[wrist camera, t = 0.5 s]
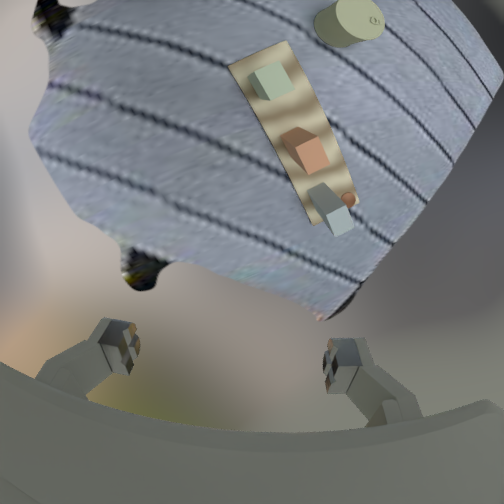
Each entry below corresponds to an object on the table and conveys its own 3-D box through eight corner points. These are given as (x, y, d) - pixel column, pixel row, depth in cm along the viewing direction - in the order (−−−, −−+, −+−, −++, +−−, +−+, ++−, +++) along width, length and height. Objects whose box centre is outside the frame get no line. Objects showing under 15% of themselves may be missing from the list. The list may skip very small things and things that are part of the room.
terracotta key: (279, 135, 50) (295, 147, 39) (298, 126, 49) (318, 136, 39) (291, 157, 52) (308, 175, 42) (308, 148, 51) (330, 164, 41)
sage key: (247, 76, 43) (253, 71, 33) (266, 67, 42) (279, 60, 32) (260, 99, 45) (270, 100, 35) (279, 90, 45) (295, 89, 35)
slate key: (307, 190, 56) (325, 215, 46) (323, 182, 55) (346, 204, 45) (315, 210, 59) (335, 237, 49) (332, 201, 58) (354, 227, 48)
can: (356, 51, 42) (386, 46, 32) (313, 42, 41) (336, 32, 31) (356, 14, 37) (386, 2, 27) (314, 4, 36) (336, -13, 26)
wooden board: (227, 67, 43) (227, 66, 41) (284, 41, 41) (286, 39, 39) (311, 223, 62) (313, 226, 61) (357, 200, 60) (360, 203, 59)
